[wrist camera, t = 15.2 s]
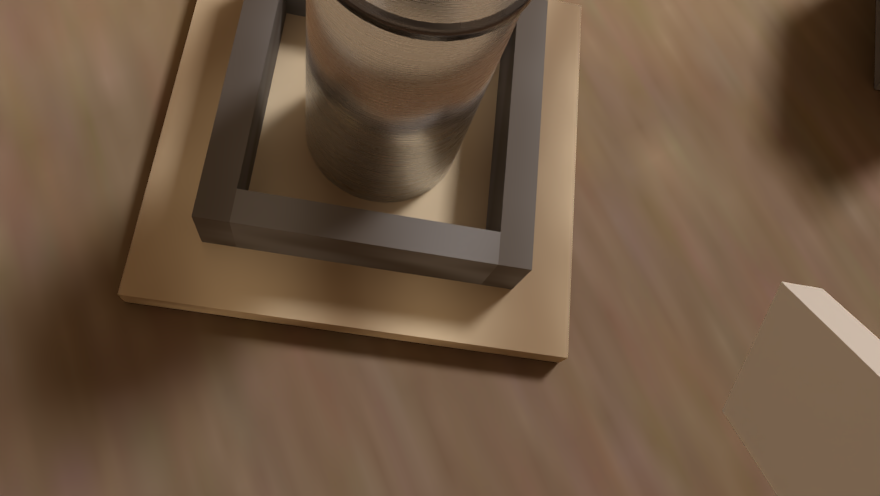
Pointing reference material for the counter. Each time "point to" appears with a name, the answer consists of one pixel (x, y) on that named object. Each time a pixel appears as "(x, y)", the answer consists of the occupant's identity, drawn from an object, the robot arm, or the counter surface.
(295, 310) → the collar plate
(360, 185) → the steel piston
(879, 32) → the electrical switch
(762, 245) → the counter surface
